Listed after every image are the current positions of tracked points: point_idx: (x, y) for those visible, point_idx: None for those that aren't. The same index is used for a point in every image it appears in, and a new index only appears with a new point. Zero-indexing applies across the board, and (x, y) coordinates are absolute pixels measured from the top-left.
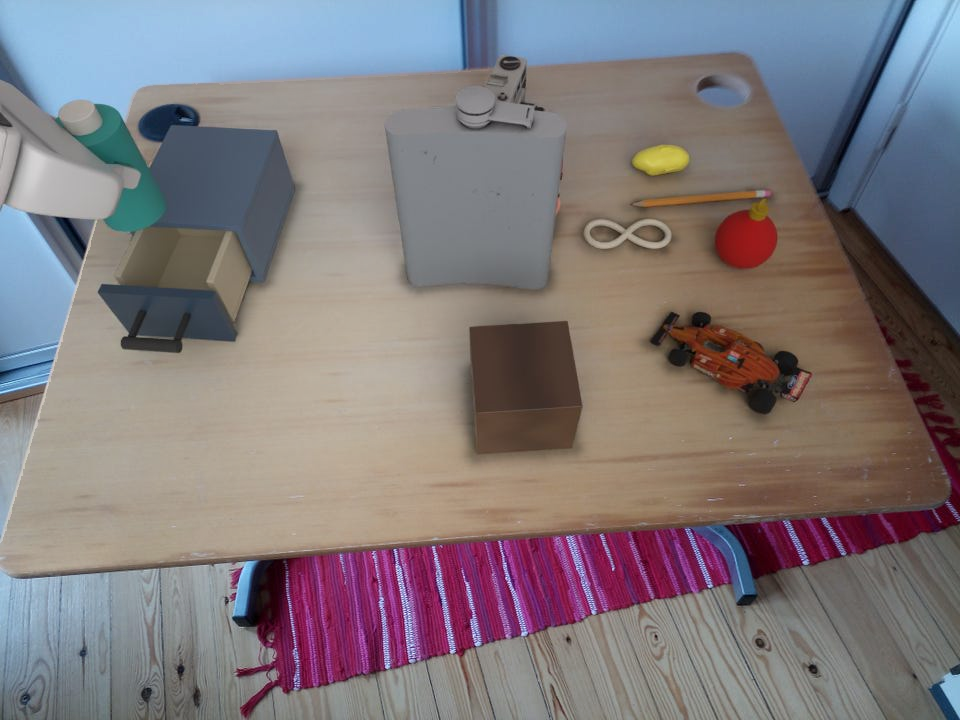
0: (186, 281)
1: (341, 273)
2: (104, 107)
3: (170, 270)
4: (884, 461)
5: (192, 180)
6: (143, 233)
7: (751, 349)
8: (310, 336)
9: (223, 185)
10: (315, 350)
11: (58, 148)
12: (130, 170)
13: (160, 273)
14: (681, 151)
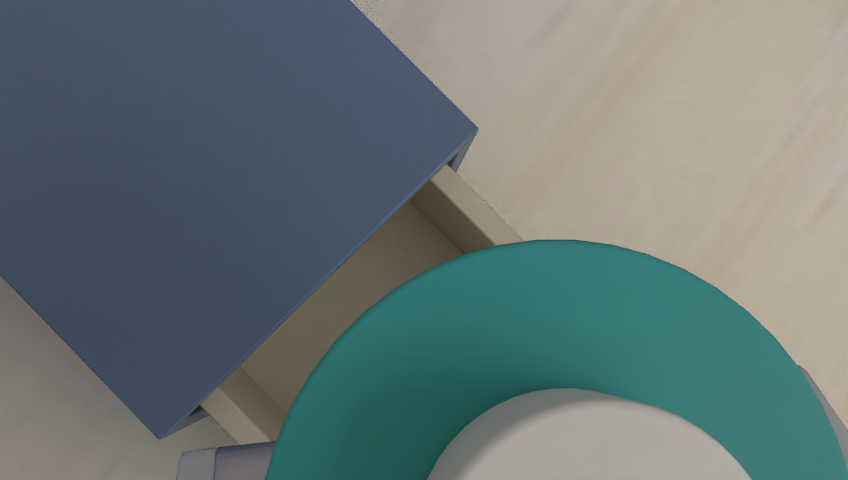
0: None
1: (560, 8)
2: (441, 308)
3: (274, 376)
4: None
5: (146, 141)
6: (232, 399)
7: None
8: (690, 187)
9: (251, 68)
10: (736, 202)
11: None
12: (830, 414)
13: (276, 407)
14: None
